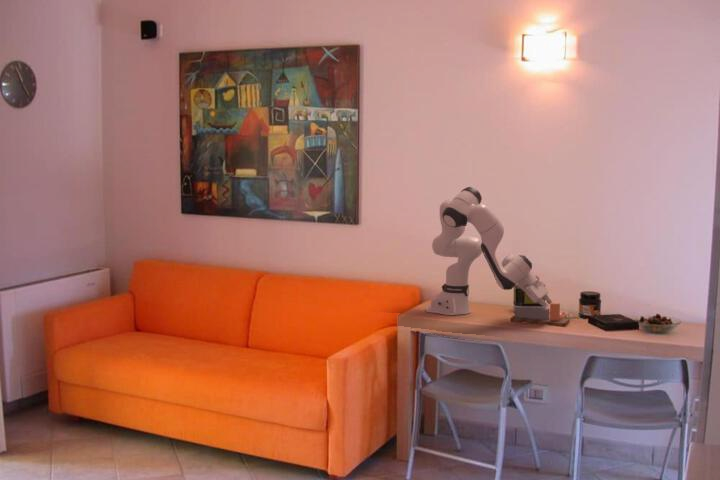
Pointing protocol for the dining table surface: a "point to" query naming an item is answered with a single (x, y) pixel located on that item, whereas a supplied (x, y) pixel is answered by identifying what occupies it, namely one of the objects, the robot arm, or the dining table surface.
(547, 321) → the brown flat board
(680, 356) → the dining table surface
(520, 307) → the grey long bar
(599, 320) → the portable cd player
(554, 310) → the stub
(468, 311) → the robot arm
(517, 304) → the tea box
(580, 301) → the supplement container
